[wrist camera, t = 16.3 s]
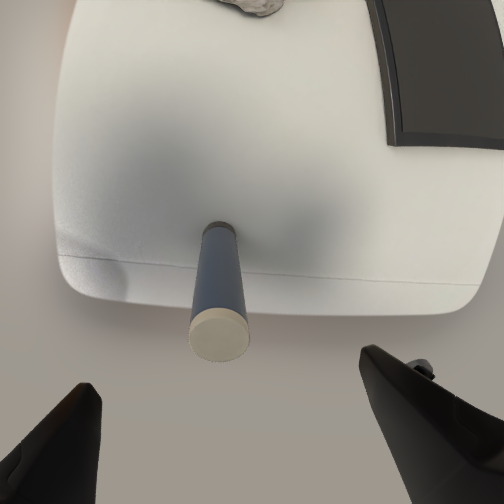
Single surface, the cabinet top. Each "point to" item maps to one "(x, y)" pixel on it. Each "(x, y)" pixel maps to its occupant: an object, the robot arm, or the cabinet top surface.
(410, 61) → the tablet
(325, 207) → the cabinet top surface
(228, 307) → the stylus
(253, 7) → the stone
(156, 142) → the cabinet top surface
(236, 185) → the cabinet top surface
